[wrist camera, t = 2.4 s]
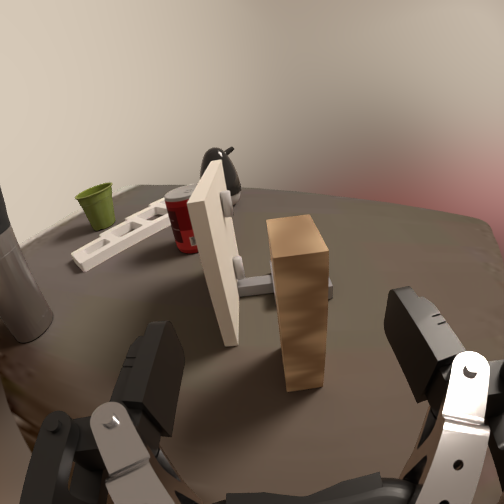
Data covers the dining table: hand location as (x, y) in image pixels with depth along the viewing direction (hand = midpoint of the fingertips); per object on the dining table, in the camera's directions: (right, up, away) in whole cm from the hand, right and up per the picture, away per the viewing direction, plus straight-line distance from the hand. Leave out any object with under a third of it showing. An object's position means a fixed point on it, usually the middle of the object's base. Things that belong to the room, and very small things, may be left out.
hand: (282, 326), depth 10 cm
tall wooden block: (+4, -9, +17) cm, 20 cm away
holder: (-28, +10, +62) cm, 68 cm away
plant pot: (-44, +10, +65) cm, 79 cm away
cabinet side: (+2, -3, +29) cm, 29 cm away
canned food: (-12, +4, +45) cm, 47 cm away
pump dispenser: (-8, +14, +63) cm, 65 cm away
